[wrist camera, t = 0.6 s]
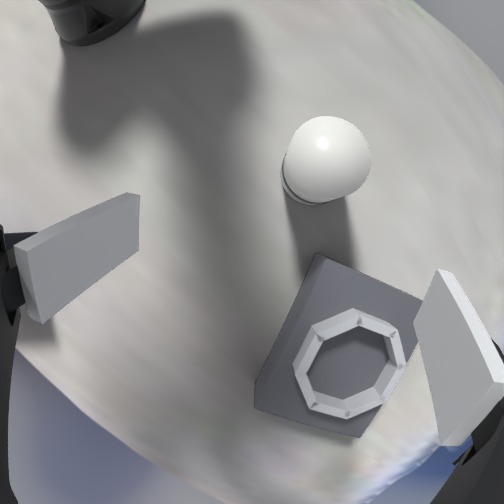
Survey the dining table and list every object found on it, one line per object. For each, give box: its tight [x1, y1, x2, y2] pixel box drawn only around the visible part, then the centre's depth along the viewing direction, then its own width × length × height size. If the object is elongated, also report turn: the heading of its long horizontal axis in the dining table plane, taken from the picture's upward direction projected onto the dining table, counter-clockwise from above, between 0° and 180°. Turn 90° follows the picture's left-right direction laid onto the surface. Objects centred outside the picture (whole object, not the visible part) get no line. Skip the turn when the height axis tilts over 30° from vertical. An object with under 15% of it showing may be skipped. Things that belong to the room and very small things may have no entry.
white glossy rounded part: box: [281, 116, 371, 205], centre depth 30 cm, size 7×7×11 cm
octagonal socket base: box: [254, 253, 423, 438], centre depth 33 cm, size 18×14×8 cm
